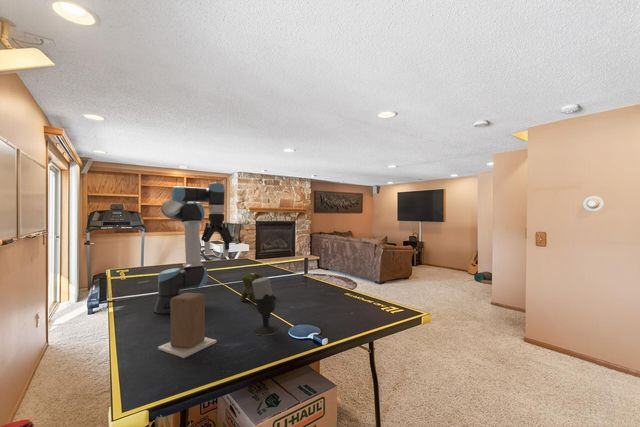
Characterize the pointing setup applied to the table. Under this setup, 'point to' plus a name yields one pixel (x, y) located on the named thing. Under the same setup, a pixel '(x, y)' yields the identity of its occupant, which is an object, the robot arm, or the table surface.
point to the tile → (186, 351)
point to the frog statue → (249, 285)
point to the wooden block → (187, 320)
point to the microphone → (264, 306)
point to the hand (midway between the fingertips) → (216, 255)
